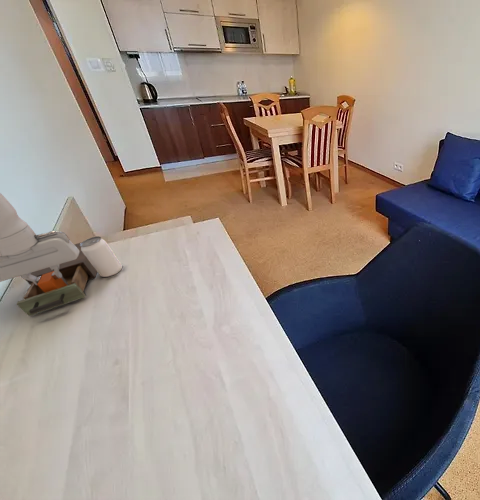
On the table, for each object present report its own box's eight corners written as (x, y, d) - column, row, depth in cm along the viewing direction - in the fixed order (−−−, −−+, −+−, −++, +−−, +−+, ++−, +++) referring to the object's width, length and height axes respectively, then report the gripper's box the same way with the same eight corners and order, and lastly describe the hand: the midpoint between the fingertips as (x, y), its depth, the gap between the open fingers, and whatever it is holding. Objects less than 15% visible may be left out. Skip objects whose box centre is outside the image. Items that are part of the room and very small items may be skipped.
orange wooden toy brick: (51, 299, 87) (36, 284, 84) (57, 286, 92) (43, 271, 89) (63, 295, 88) (49, 280, 85) (69, 282, 93) (56, 267, 90)
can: (104, 268, 102) (82, 239, 95) (125, 263, 103) (105, 233, 96) (98, 280, 97) (74, 249, 90) (120, 274, 98) (99, 243, 91)
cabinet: (95, 277, 98) (82, 261, 94) (40, 295, 93) (24, 279, 89) (102, 254, 109) (91, 239, 106) (53, 269, 105) (40, 254, 101)
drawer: (82, 305, 85) (71, 293, 83) (23, 326, 81) (10, 313, 78) (93, 271, 99) (84, 259, 97) (43, 286, 95) (33, 275, 92)
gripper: (64, 223, 85) (93, 262, 93) (-30, 248, 79) (10, 287, 87) (58, 233, 81) (89, 273, 89) (-42, 260, 74) (1, 301, 82)
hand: (49, 280), depth 87 cm, fingers closed on orange wooden toy brick, 3 cm apart
